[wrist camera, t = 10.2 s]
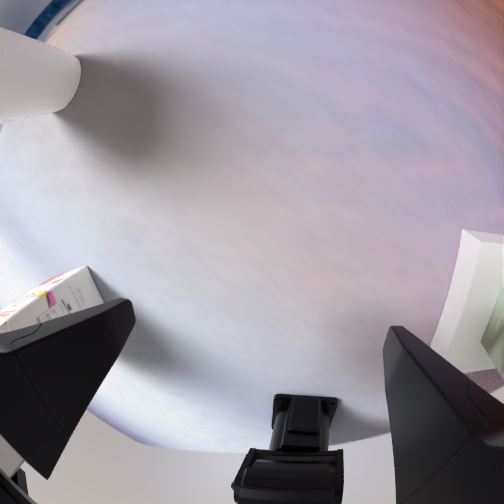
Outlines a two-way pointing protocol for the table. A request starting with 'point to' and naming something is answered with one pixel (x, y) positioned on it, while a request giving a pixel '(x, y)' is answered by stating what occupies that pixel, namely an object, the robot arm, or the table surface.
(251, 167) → the table surface
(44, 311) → the ink cartridge box
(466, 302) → the white block
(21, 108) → the foam cup
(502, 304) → the sage cube
